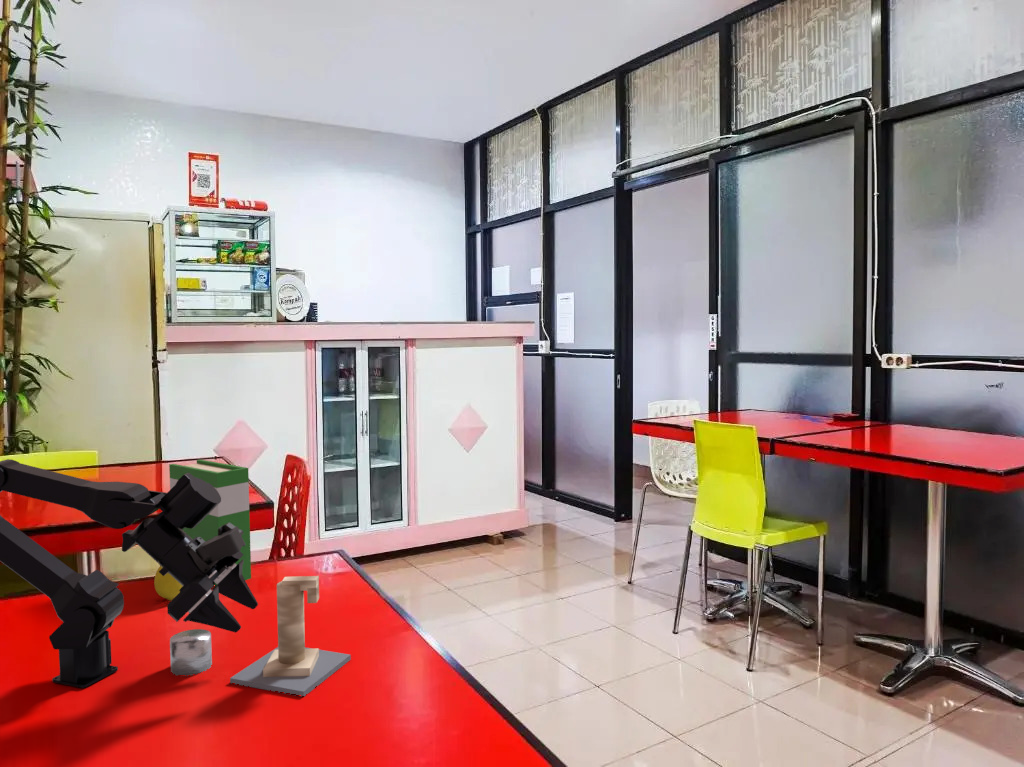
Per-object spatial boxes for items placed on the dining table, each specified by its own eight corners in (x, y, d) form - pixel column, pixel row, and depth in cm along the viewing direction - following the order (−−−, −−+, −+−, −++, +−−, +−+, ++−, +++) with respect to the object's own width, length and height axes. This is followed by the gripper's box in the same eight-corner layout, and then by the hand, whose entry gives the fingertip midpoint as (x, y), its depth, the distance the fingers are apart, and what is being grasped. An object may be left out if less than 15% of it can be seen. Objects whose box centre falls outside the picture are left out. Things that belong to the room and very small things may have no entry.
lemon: (191, 596, 150) (190, 556, 149) (176, 606, 144) (174, 565, 144) (165, 595, 150) (163, 556, 150) (149, 605, 145) (147, 564, 144)
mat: (303, 696, 109) (303, 691, 109) (230, 683, 113) (230, 678, 113) (350, 659, 121) (350, 654, 121) (282, 648, 125) (282, 643, 125)
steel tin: (193, 678, 115) (192, 647, 114) (162, 672, 117) (160, 641, 116) (220, 662, 120) (219, 632, 120) (190, 656, 122) (189, 627, 122)
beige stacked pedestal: (263, 677, 113) (260, 586, 112) (275, 656, 120) (272, 571, 119) (314, 675, 114) (312, 585, 113) (323, 655, 121) (321, 570, 120)
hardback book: (173, 572, 165) (169, 464, 163) (203, 563, 171) (200, 459, 169) (220, 588, 154) (216, 473, 153) (251, 578, 160) (248, 467, 159)
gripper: (188, 528, 105) (269, 603, 107) (229, 498, 124) (298, 562, 125) (132, 584, 105) (213, 658, 107) (181, 545, 124) (250, 609, 125)
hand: (247, 618), depth 116 cm, fingers open, 9 cm apart
